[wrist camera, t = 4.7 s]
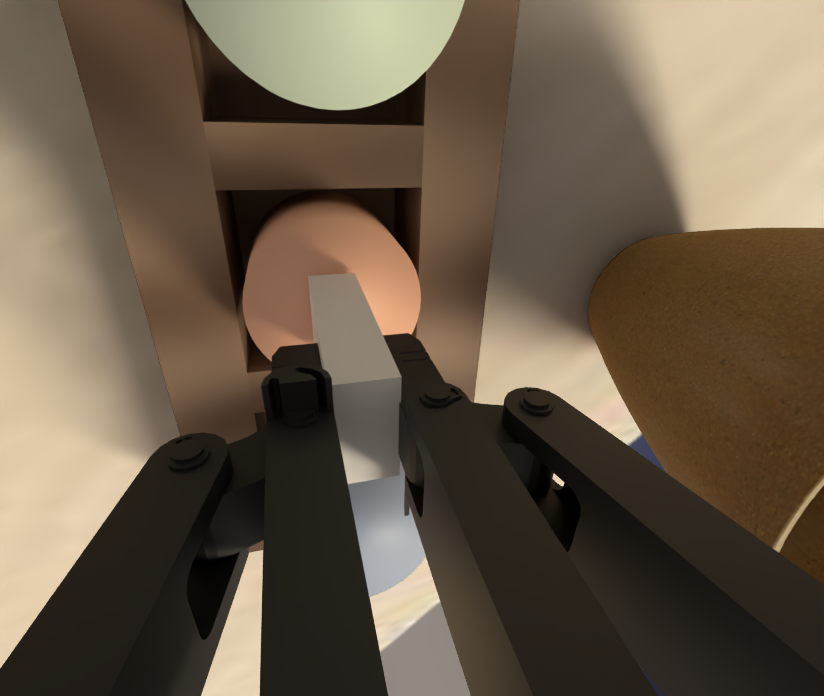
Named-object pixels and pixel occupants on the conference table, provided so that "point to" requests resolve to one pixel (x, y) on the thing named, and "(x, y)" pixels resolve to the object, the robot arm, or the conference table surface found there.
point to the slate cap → (385, 532)
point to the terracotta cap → (323, 268)
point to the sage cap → (330, 45)
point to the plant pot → (727, 371)
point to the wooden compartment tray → (285, 185)
